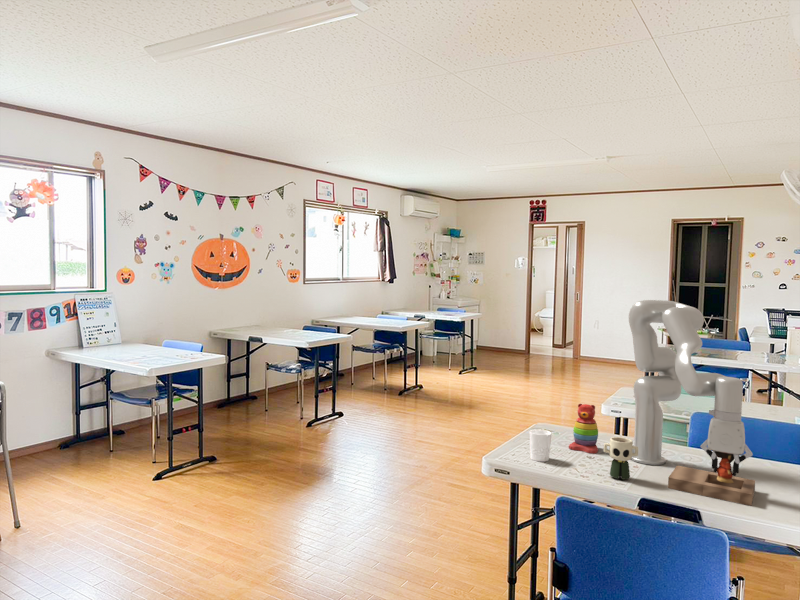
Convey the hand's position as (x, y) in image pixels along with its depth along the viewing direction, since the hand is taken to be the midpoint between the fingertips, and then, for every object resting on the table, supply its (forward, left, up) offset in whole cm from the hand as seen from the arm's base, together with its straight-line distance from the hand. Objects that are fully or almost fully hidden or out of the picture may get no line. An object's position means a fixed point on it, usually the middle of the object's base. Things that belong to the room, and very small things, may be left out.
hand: (724, 472), depth 181 cm
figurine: (0, 0, -3) cm, 3 cm away
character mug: (-30, -8, -7) cm, 32 cm away
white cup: (-59, -6, -7) cm, 60 cm away
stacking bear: (-50, +19, -7) cm, 54 cm away
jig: (-4, 0, -6) cm, 8 cm away
